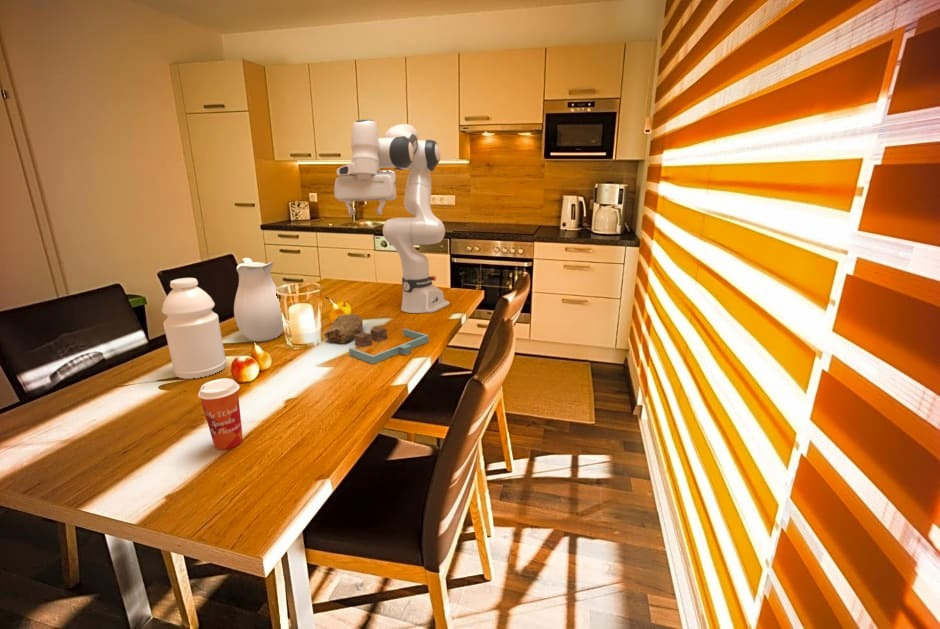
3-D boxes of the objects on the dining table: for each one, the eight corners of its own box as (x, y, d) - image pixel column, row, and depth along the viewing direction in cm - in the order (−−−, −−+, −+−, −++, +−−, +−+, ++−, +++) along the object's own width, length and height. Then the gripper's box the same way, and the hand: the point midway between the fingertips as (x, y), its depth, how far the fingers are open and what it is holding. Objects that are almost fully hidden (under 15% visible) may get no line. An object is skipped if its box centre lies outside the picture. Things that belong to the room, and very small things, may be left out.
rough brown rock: (351, 348, 159) (375, 320, 175) (343, 329, 155) (368, 302, 172) (320, 351, 163) (346, 323, 180) (311, 332, 160) (339, 305, 176)
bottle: (164, 374, 136) (143, 282, 128) (207, 358, 148) (190, 273, 140) (195, 383, 130) (175, 287, 122) (237, 365, 142) (221, 277, 134)
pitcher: (294, 338, 165) (283, 261, 157) (242, 348, 156) (229, 267, 148) (278, 321, 184) (268, 252, 176) (232, 329, 175) (219, 257, 167)
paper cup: (207, 456, 96) (194, 396, 92) (210, 438, 103) (199, 381, 99) (248, 447, 99) (237, 388, 95) (249, 430, 106) (239, 374, 102)
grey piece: (405, 335, 167) (404, 328, 166) (434, 343, 158) (433, 336, 157) (349, 355, 149) (348, 348, 148) (379, 366, 140) (378, 358, 139)
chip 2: (379, 337, 166) (379, 326, 164) (387, 339, 163) (386, 328, 162) (371, 340, 163) (370, 329, 161) (378, 342, 160) (377, 331, 159)
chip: (364, 342, 160) (363, 331, 159) (371, 345, 158) (370, 334, 157) (355, 345, 157) (354, 334, 156) (362, 348, 155) (361, 337, 154)
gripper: (399, 172, 149) (399, 215, 150) (340, 174, 153) (340, 216, 154) (392, 167, 143) (392, 212, 144) (331, 169, 147) (331, 213, 147)
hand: (365, 214), depth 149 cm, fingers open, 8 cm apart
